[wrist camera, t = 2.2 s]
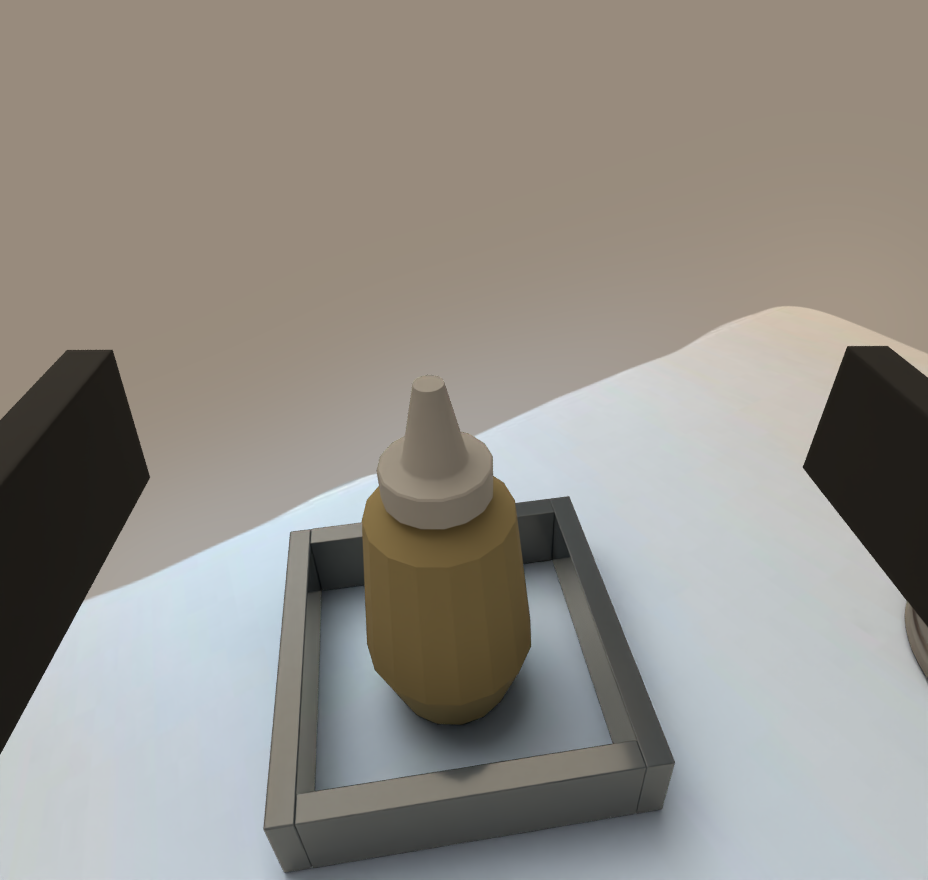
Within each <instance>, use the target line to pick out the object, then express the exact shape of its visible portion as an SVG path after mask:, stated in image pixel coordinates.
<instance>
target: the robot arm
mask: <svg viewBox="0 0 928 880" xmlns="http://www.w3.org/2000/svg"><path fill="white" fill-rule="evenodd" d="M803 469H804V470H805V471H806V472H807V474H808V475H809V476H810V478H811V479H812V480H813V481H814V483H815V484H816V485H817V486H818V488H819V489H820V490H821V492H822V493H823V494H824V495H825V497H826V498H827V499H828V501H829V502H830V503H831V504H832V506H833V507H834V508H835V509H836V511H837V512H838V513H839V515H840V516H841V517H842V518H843V520H844V521H845V522H846V523H847V525H848V526H849V527H850V529H851V530H852V531H853V532H854V534H855V535H856V536H857V538H858V539H859V540H860V541H861V543H862V544H863V545H864V546H865V548H866V549H867V550H868V552H869V553H870V554H871V555H872V557H873V558H874V559H875V561H876V562H877V563H878V564H879V566H880V567H881V568H882V569H883V571H884V572H885V573H886V575H887V576H888V577H889V578H890V580H891V581H892V582H893V584H894V585H895V586H896V587H897V589H898V590H899V591H900V592H901V594H902V595H903V596H904V598H905V599H906V600H907V603H906V608H905V625H906V631H907V635H908V640H909V643H910V645H911V648H912V651H913V653H914V655H915V657H916V659H917V661H918V663H919V665H920V667H921V669H922V670H923V672H924V674H925V675H926V677H927V678H928V377H926V376H925V375H924V374H922V373H921V372H920V371H919V370H917V369H916V368H915V367H914V366H912V365H911V364H910V363H908V362H907V361H906V360H905V359H903V358H902V357H901V356H900V355H898V354H897V353H896V352H894V351H893V350H892V349H891V348H889V347H888V346H847V349H846V351H845V354H844V357H843V359H842V362H841V365H840V368H839V370H838V373H837V376H836V379H835V381H834V384H833V387H832V389H831V392H830V395H829V398H828V400H827V403H826V406H825V408H824V411H823V414H822V417H821V419H820V422H819V425H818V427H817V430H816V433H815V436H814V438H813V441H812V444H811V446H810V449H809V452H808V455H807V457H806V460H805V463H804V465H803ZM149 478H150V476H149V472H148V469H147V465H146V462H145V459H144V455H143V452H142V448H141V445H140V441H139V438H138V435H137V432H136V428H135V424H134V421H133V418H132V415H131V411H130V408H129V404H128V401H127V397H126V394H125V391H124V387H123V384H122V381H121V377H120V373H119V370H118V367H117V363H116V360H115V357H114V353H113V350H67V351H66V352H65V353H64V354H63V355H62V356H61V357H60V358H59V359H58V360H57V361H56V362H55V363H54V365H52V366H51V367H50V368H49V369H48V370H47V372H46V373H45V374H44V375H43V376H42V377H41V378H40V379H39V380H38V381H37V382H36V383H35V384H34V385H33V386H32V388H30V389H29V391H28V392H27V393H26V394H25V395H24V396H23V397H22V398H21V399H20V400H19V401H18V402H17V403H16V404H15V405H14V406H13V407H12V408H11V409H10V411H9V412H8V413H7V414H6V415H5V416H4V417H3V418H2V419H1V420H0V754H1V752H2V750H3V748H4V747H5V745H6V743H7V741H8V739H9V737H10V736H11V734H12V732H13V730H14V728H15V726H16V724H17V723H18V721H19V719H20V717H21V715H22V713H23V711H24V710H25V708H26V706H27V704H28V702H29V700H30V699H31V697H32V695H33V693H34V691H35V689H36V687H37V686H38V684H39V682H40V680H41V678H42V676H43V675H44V673H45V671H46V669H47V667H48V665H49V663H50V662H51V660H52V658H53V656H54V654H55V652H56V650H57V649H58V647H59V645H60V643H61V641H62V639H63V638H64V636H65V634H66V632H67V630H68V628H69V626H70V625H71V623H72V621H73V619H74V617H75V615H76V613H77V612H78V610H79V608H80V606H81V604H82V602H83V601H84V599H85V597H86V595H87V593H88V591H89V589H90V588H91V585H92V584H93V582H94V580H95V578H96V576H97V575H98V573H99V571H100V569H101V567H102V565H103V563H104V562H105V560H106V558H107V556H108V554H109V552H110V551H111V549H112V547H113V545H114V543H115V541H116V539H117V538H118V536H119V534H120V532H121V530H122V528H123V526H124V525H125V523H126V521H127V519H128V517H129V515H130V514H131V512H132V510H133V508H134V506H135V504H136V503H137V500H138V499H139V497H140V495H141V493H142V491H143V489H144V488H145V486H146V484H147V482H148V480H149Z"/></svg>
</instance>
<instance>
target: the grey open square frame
mask: <svg viewBox="0 0 928 880" xmlns="http://www.w3.org/2000/svg"><path fill="white" fill-rule="evenodd" d="M515 505H516V513H517V521H518V528H519V536H520V544H521V552H522V559H523V564H524V563H531V562H539V561H546V560H552V561H553V564H554V567H555V570H556V573H557V576H558V579H559V582H560V585H561V588H562V591H563V594H564V597H565V600H566V603H567V606H568V609H569V612H570V615H571V618H572V621H573V624H574V627H575V630H576V633H577V637H578V640H579V643H580V646H581V649H582V652H583V655H584V658H585V661H586V664H587V667H588V670H589V673H590V676H591V679H592V682H593V685H594V688H595V691H596V694H597V697H598V700H599V703H600V706H601V709H602V712H603V715H604V718H605V721H606V724H607V727H608V730H609V733H610V736H611V739H612V742H613V744H608V745H602V746H596V747H589V748H583V749H577V750H571V751H564V752H558V753H552V754H545V755H539V756H533V757H527V758H520V759H514V760H508V761H502V762H495V763H489V764H483V765H476V766H470V767H464V768H458V769H451V770H445V771H439V772H433V773H426V774H420V775H414V776H407V777H401V778H395V779H389V780H382V781H376V782H370V783H364V784H357V785H351V786H345V787H338V788H332V789H326V790H320V791H315V772H316V743H317V714H318V685H319V656H320V627H321V598H322V590H330V589H338V588H345V587H353V586H360V585H365V583H364V560H363V537H362V523H354V524H346V525H338V526H331V527H323V528H315V529H311V530H310V529H309V530H301V531H293V532H290V539H289V550H288V561H287V572H286V584H285V595H284V606H283V617H282V628H281V639H280V650H279V661H278V672H277V683H276V694H275V705H274V716H273V728H272V739H271V750H270V761H269V772H268V783H267V794H266V805H265V816H264V827H263V829H264V832H265V834H266V836H267V838H268V840H269V842H270V844H271V846H272V848H273V851H274V853H275V855H276V857H277V859H278V861H279V863H280V865H281V867H282V869H283V872H285V873H286V872H292V871H298V870H304V869H310V868H312V867H313V868H317V867H323V866H329V865H335V864H341V863H347V862H353V861H359V860H365V859H370V858H376V857H382V856H388V855H394V854H400V853H406V852H412V851H418V850H424V849H430V848H436V847H441V846H447V845H453V844H459V843H465V842H471V841H477V840H483V839H489V838H495V837H501V836H507V835H512V834H518V833H524V832H530V831H536V830H542V829H548V828H554V827H560V826H566V825H572V824H578V823H584V822H589V821H595V820H601V819H607V818H613V817H619V816H625V815H631V814H635V813H643V812H649V811H655V810H661V809H662V808H663V804H664V800H665V797H666V793H667V790H668V786H669V782H670V779H671V775H672V772H673V768H674V765H675V761H674V759H673V756H672V754H671V751H670V749H669V746H668V743H667V741H666V738H665V736H664V733H663V731H662V728H661V726H660V723H659V721H658V718H657V716H656V713H655V711H654V708H653V706H652V703H651V701H650V698H649V696H648V693H647V691H646V688H645V686H644V683H643V681H642V678H641V676H640V673H639V671H638V668H637V666H636V663H635V661H634V658H633V655H632V653H631V650H630V648H629V645H628V643H627V640H626V638H625V635H624V633H623V630H622V628H621V625H620V623H619V620H618V618H617V615H616V613H615V610H614V608H613V605H612V603H611V600H610V598H609V595H608V593H607V590H606V588H605V585H604V583H603V580H602V578H601V575H600V573H599V570H598V568H597V565H596V562H595V560H594V557H593V555H592V552H591V550H590V547H589V545H588V542H587V540H586V537H585V535H584V532H583V530H582V527H581V525H580V522H579V520H578V517H577V515H576V512H575V510H574V507H573V505H572V502H571V500H570V497H569V496H568V497H560V498H552V499H544V500H536V501H528V502H520V503H515Z"/></svg>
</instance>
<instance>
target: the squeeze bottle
mask: <svg viewBox="0 0 928 880" xmlns="http://www.w3.org/2000/svg"><path fill="white" fill-rule="evenodd" d="M377 476H378V483H379V486H378V488H377V489H376V490H375V491H374V492H373V494H372V495H371V496H370V497H369V498H368V499H367V501H366V506H365V510H364V514H363V518H362V537H363V560H364V583H365V606H366V630H367V645H368V648H369V652H370V655H371V659H372V662H373V665H374V669H375V671H376V672H377V673H378V674H379V675H380V676H381V677H382V678H383V679H384V680H385V681H386V683H387V684H388V685H389V686H390V687H391V688H392V689H393V690H394V691H395V692H396V693H397V694H398V696H399V697H400V698H401V699H402V700H403V701H404V702H405V703H406V704H407V705H408V706H409V707H410V708H411V710H412V711H413V712H414V713H415V714H416V715H417V716H420V717H422V718H424V719H427V720H429V721H431V722H434V723H436V724H451V725H462V724H465V723H467V722H470V721H473V720H476V719H479V718H482V717H484V716H485V715H486V714H487V713H488V712H489V711H490V710H492V709H493V708H494V707H495V706H496V705H497V704H498V703H500V701H501V700H502V698H503V697H504V695H505V693H506V692H507V690H508V689H509V687H510V686H511V684H512V682H513V681H514V679H515V678H516V676H517V675H518V673H519V671H520V669H521V667H522V665H523V663H524V660H525V658H526V656H527V654H528V652H529V650H530V647H531V628H530V614H529V606H528V598H527V591H526V583H525V575H524V567H523V559H522V552H521V544H520V536H519V528H518V521H517V513H516V505H515V500H514V498H513V497H512V495H511V494H510V492H509V490H508V489H507V487H506V486H505V484H504V483H503V482H502V481H500V480H499V479H497V478H496V477H494V476H493V456H492V454H491V453H490V451H489V450H488V448H487V447H486V445H485V443H483V442H481V441H480V440H478V439H477V438H475V437H473V436H472V435H470V434H468V433H464V432H460V429H459V426H458V423H457V420H456V417H455V413H454V410H453V407H452V404H451V401H450V398H449V395H448V392H447V389H446V386H445V383H444V381H443V379H442V378H440V377H438V376H434V375H426V376H421V377H419V378H417V379H415V380H414V382H413V384H412V391H411V398H410V405H409V412H408V419H407V426H406V433H405V436H404V437H402V438H400V439H399V440H397V441H395V442H393V443H392V444H391V445H390V446H389V447H388V448H387V449H386V450H385V451H384V453H383V454H382V455H381V456H380V459H379V463H378V467H377Z"/></svg>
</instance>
